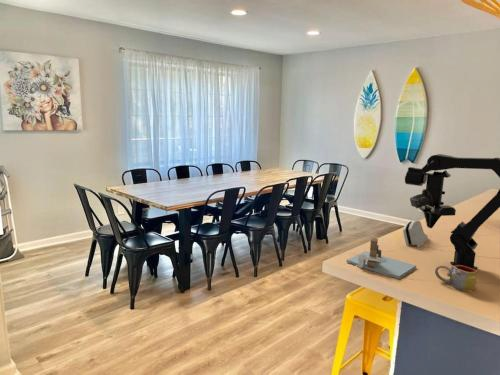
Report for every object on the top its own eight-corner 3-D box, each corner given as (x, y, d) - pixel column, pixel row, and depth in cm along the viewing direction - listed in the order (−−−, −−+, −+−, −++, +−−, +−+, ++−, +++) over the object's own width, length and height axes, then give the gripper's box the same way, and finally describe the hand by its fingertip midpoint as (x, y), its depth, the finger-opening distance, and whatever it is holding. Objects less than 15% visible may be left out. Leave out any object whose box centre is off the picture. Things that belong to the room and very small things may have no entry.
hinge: (418, 248, 156) (412, 224, 157) (407, 249, 159) (400, 226, 160) (428, 238, 169) (422, 217, 169) (417, 239, 172) (411, 218, 172)
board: (415, 268, 135) (416, 265, 135) (398, 279, 125) (398, 276, 125) (365, 253, 149) (365, 251, 149) (346, 262, 139) (346, 259, 139)
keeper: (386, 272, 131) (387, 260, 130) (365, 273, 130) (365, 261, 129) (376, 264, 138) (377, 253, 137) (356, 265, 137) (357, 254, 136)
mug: (477, 287, 120) (480, 267, 119) (473, 294, 115) (475, 274, 114) (437, 277, 128) (439, 258, 127) (431, 283, 123) (433, 264, 122)
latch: (370, 252, 146) (372, 231, 144) (381, 254, 144) (383, 233, 142) (364, 265, 133) (366, 242, 131) (376, 267, 131) (378, 244, 129)
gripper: (400, 183, 148) (397, 221, 151) (430, 193, 130) (425, 236, 133) (426, 183, 150) (422, 220, 153) (459, 192, 132) (453, 235, 135)
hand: (429, 227), depth 143 cm, fingers closed
